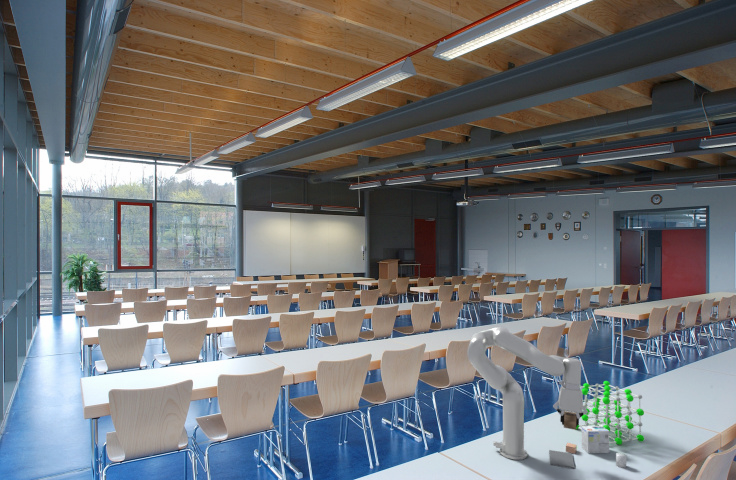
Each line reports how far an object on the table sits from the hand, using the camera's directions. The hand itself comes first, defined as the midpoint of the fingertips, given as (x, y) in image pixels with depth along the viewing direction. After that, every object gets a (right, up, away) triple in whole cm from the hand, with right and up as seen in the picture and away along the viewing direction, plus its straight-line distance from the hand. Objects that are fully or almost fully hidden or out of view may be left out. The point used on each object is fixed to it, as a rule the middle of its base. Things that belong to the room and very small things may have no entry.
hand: (569, 424), depth 205 cm
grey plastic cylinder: (+21, -17, -5) cm, 27 cm away
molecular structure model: (+33, -17, +28) cm, 46 cm away
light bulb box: (+17, -17, +10) cm, 26 cm away
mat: (-4, -17, +1) cm, 17 cm away
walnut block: (0, -1, 0) cm, 1 cm away
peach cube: (+5, -17, +10) cm, 20 cm away
